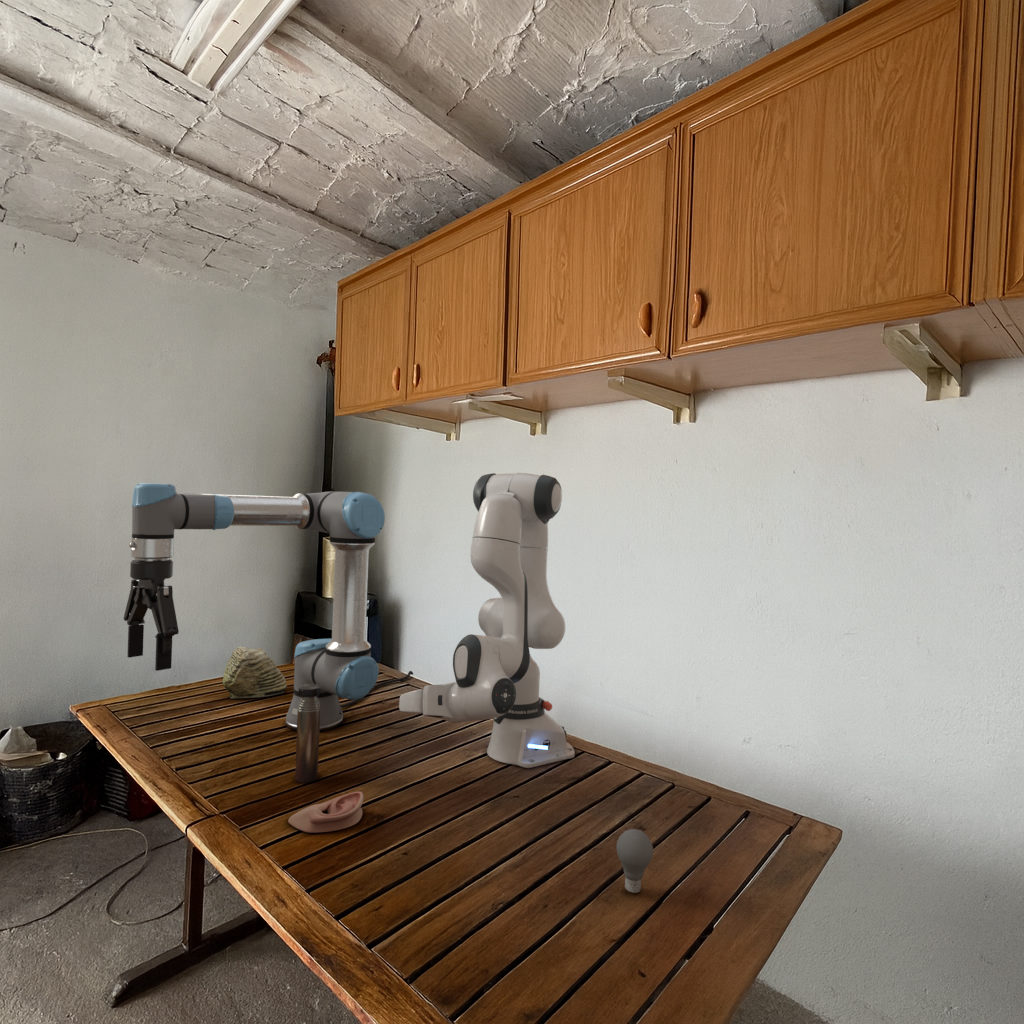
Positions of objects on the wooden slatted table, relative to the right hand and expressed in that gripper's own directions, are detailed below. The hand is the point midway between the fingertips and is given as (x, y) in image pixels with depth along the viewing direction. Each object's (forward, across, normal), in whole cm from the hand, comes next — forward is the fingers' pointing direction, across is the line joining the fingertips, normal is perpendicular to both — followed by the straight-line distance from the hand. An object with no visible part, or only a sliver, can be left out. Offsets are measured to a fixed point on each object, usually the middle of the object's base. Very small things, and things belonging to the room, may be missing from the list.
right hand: (422, 707), depth 152 cm
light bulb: (-54, -5, +34) cm, 64 cm away
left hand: (+16, +57, -8) cm, 59 cm away
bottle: (+14, +21, +15) cm, 29 cm away
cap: (+8, +25, -4) cm, 27 cm away
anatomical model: (-4, +25, +23) cm, 34 cm away
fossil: (+74, +11, -9) cm, 76 cm away
